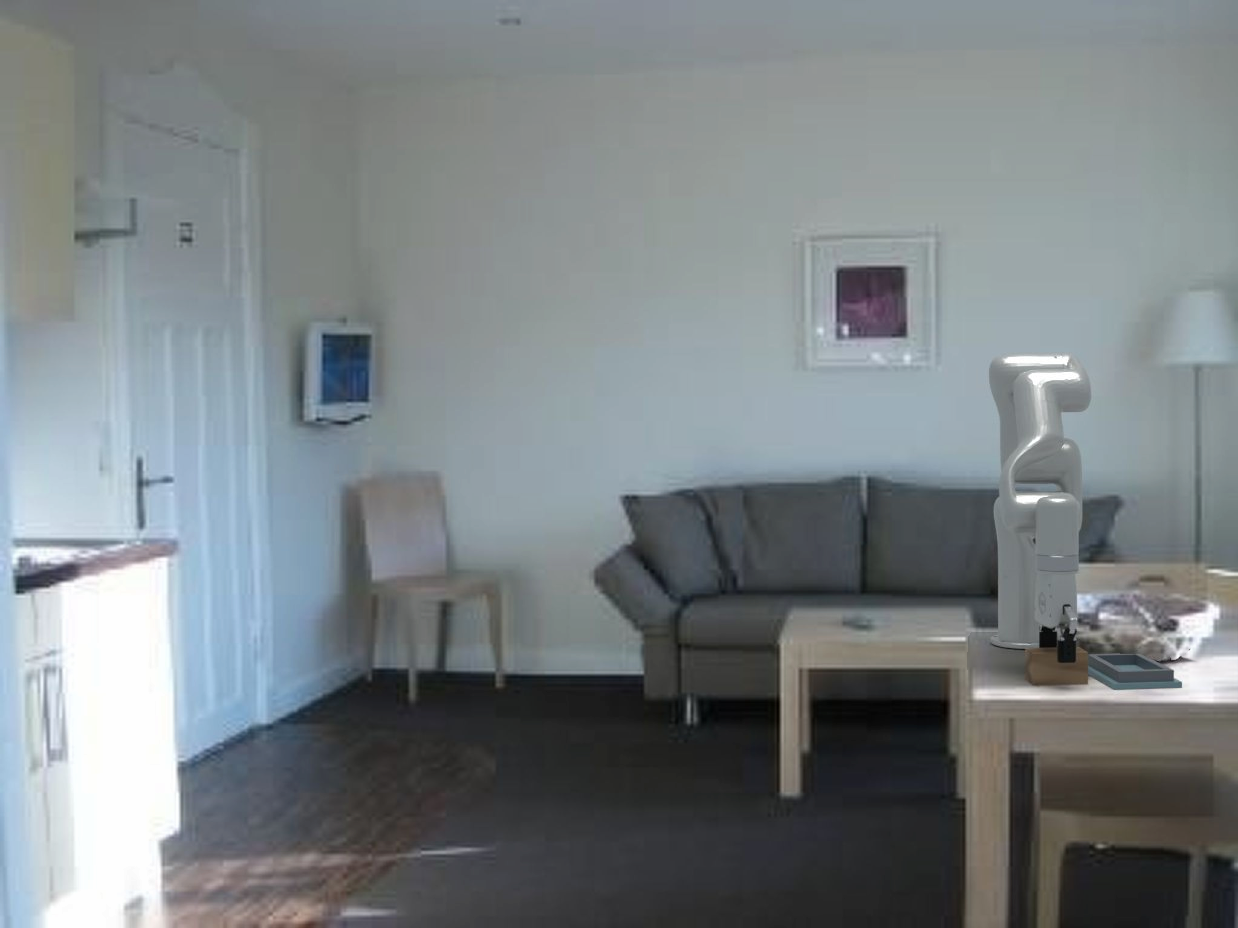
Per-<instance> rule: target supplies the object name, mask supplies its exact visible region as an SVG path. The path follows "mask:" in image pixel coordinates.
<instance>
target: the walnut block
mask: <svg viewBox="0 0 1238 928" xmlns="http://www.w3.org/2000/svg"><path fill="white" fill-rule="evenodd" d="M1024 650H1025V651H1024V657H1025V658H1024V659H1025V661H1024V663H1025V665H1024V669H1025V671H1024V673H1025V677H1024V678H1025V679H1024V680H1025V681H1027V682H1028V683H1029V684H1031V685H1032V686H1067V685H1069V686H1071V685H1073V686H1074V685H1076V686H1077V685H1078V686H1079V685H1089V675H1088V654H1089V652H1088V651H1086V650H1085V649H1084V648H1081V647H1080V646H1076V662H1075V663H1059V662H1058V661H1057V647H1055V648H1025V649H1024Z"/></svg>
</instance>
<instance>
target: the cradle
mask: <svg viewBox="0 0 1238 928" xmlns="http://www.w3.org/2000/svg"><path fill="white" fill-rule="evenodd" d="M1088 676H1090V677H1092V678H1093V679H1095V680H1097V681H1098V682H1100V683H1102V684H1104V685H1105V686H1107V687H1109V688H1111V689H1112V690H1142V689H1146V690H1147V689H1171V688H1172V689H1173V688H1175V689H1177V688H1179V689H1180V688H1183V681H1181V680H1179V679H1177V678H1175V670H1174V669H1172V668H1170V667H1168V666H1166V665H1164V664H1162V663H1161V662H1157V661H1156V660H1155V659H1152V658H1150V657H1149V658H1148V657H1146V656H1144V655H1142V654H1120V653H1093V654H1092V653H1090V654H1089V653H1088Z"/></svg>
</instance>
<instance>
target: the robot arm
mask: <svg viewBox="0 0 1238 928" xmlns="http://www.w3.org/2000/svg"><path fill="white" fill-rule="evenodd" d="M988 379H989V380H988V381H989V388H990V392H991V394H992V395H991V396H992V397H993V400H994V403H995V406H996V409H997V412H998V417H999V453H1000V455H999V456H1000V458H999V459H1000V471H1001V472H1000V476H999V482H998V483H999V484H998V495H999V496H998V497H997V498H996V500H995V501H994V504H993V520H994V527H995V532H996V541H997V571H998V572H997V577H998V578H997V591H998V592H997V597H998V598H997V624H998V625H997V629H998V630H997V633H996V634H993V635H991V636H990V644H991V645H994V646H997V647H1002V648H1007V649H1015V650H1016V649H1017V650H1025V648H1055V647H1057V661H1058V662H1059V663H1075V662H1076V647H1077V632H1078V631H1077V630H1078V629H1077V626H1078V595H1077V581H1076V574H1079V571H1080V570H1079V568H1080V567H1079V566H1080V565H1079V561H1080V559H1079V558H1080V557H1079V553H1080V552H1079V550H1080V549H1079V547H1080V544H1079V541H1080V540H1079V539H1080V537H1079V535H1080V534H1079V533H1080V531H1081V530H1082V523H1083V471H1082V470H1083V465H1082V456H1081V451H1080V448H1079V445H1078V444H1077V443H1076V442H1075V440H1072V439H1071V438H1068V437H1065V434H1064V428H1063V427H1064V426H1063V419H1062V413H1083V412H1085V411H1086V410H1087V409H1088V408H1089V407H1090V405H1091V400H1092V386H1091V381H1090V378H1089V374H1088V373H1087V371H1086V369H1085V367H1084V366H1083V364H1082V363H1081V361H1080V359H1079V358H1078V357H1077V355H1075V354H1074V353H1072V352H1071V353H1069V352H1016V353H1007V354H1000V355H998V356H996V357H994V358H993V359H992V361H991V362H990V363H989V367H988ZM1015 485H1054V486H1056V487H1057V490H1016V486H1015ZM1034 539H1035V542H1034ZM1058 639H1059V640H1058Z"/></svg>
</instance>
